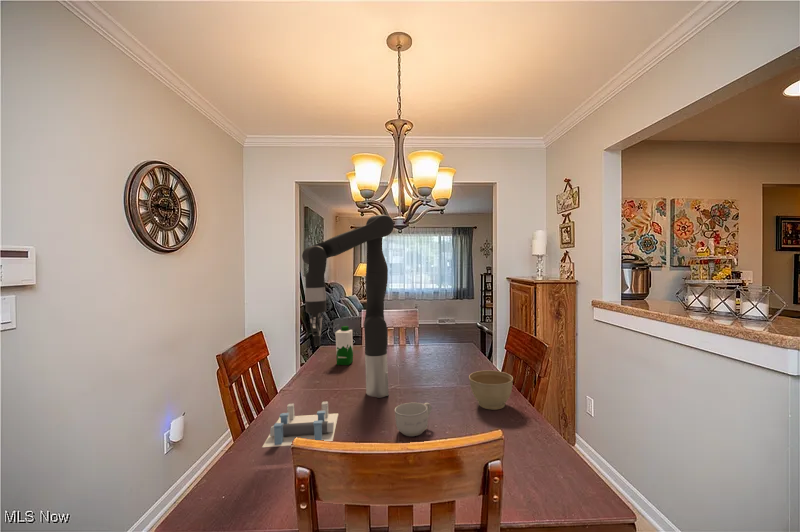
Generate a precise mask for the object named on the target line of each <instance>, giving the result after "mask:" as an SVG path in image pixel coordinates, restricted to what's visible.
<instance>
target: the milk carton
mask: <svg viewBox="0 0 800 532" xmlns="http://www.w3.org/2000/svg"><path fill="white" fill-rule="evenodd" d="M340 328H341V329H338V330H336V331H335V332H334V333H335V334H334V335H335V351H336V353H335V355H336V357H335V358H336V366H351V364H352V363H353V362H354V346H353V345H354V342H353V341H354V340H353V336H354V335H353V329H349V325H342V326H340Z"/></svg>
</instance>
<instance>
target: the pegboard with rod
mask: <svg viewBox="0 0 800 532" xmlns="http://www.w3.org/2000/svg"><path fill="white" fill-rule="evenodd" d="M286 410H287V411H286V412H282V413H281V412H280V414H279V418H278V420H276V422H275V423H274V425H273V426H274V436H270V434H268V437H267V438H266V440H265V441H264V443H263V445H262V446H261V448H263V449H264V448H274V447H275V448H276V447H289V446H292V445H291V444H292V441H293V440H294V438H296V437H301V438H307V439H315V440H324V441H334V438H335V437H334V436H335V432H336V426H337V422H338V419H339V413H329V401H327V400H326V401H322V402H321V410H317V412H316V414H308V415H307V414H306V415H295V414H296V413H295V403H288V404H287V406H286ZM323 421H328V422H334V431H333V432H328V433H324V434H322V423H323ZM307 422H314V423H313V425H314V434H310V435H295V436H283V425H284V424H292V423H307Z"/></svg>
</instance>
